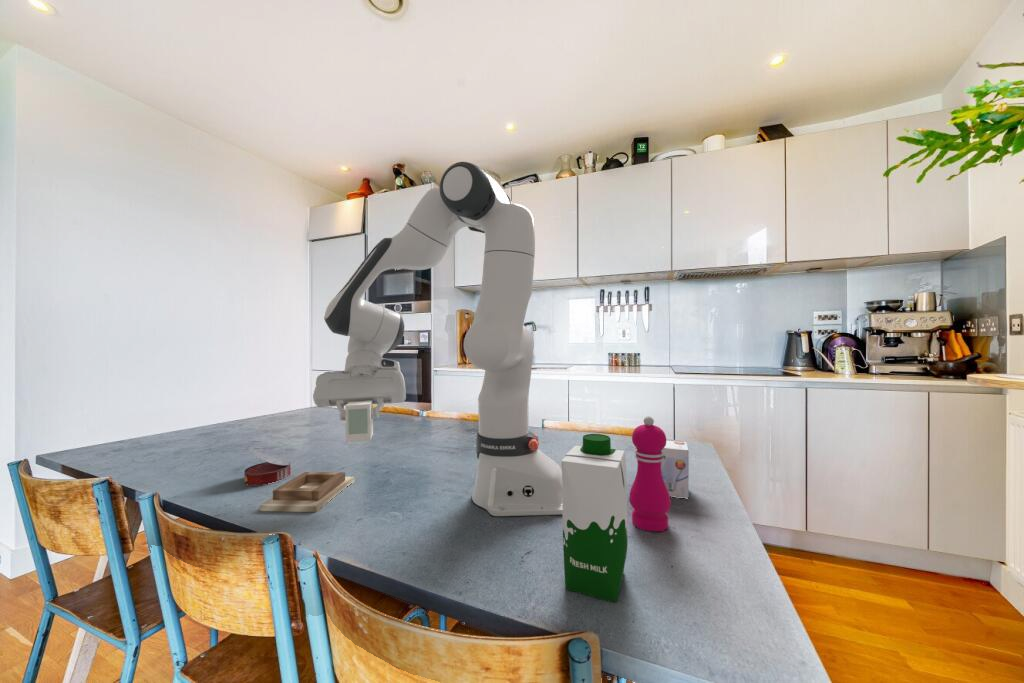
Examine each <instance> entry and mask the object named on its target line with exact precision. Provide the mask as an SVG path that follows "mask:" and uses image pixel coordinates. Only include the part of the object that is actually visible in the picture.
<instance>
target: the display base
mask: <svg viewBox="0 0 1024 683" xmlns="http://www.w3.org/2000/svg"><path fill="white" fill-rule="evenodd" d="M351 483H352V484H353V483H355V476H346V472H345V471H344V472H339V471H338V472H337V471H332V472H331V471H329V472H328V471H327V472H326V471H304V472H303V473H301V474H299V475H298V476H296V477H294V478H292V479H291V480H289V481H287V482H286V483H283V484H281V485H280V486H278V487H277V488H275V489H273V490H272V497H271V498H269V499H267V500H266V501H264V502H263V503H261V504H260V505H259V512H290V513H291V512H293V513H294V512H297V513H299V512H300V513H302V512H304V513H305V512H306V513H317V512H319V510H321V509H322V508H323V507H324V506H326V505H327V504H328V503H330V500H331V499H332V498H333V499H334V497H335V496H336V495H337V494H338V493H340V492H341V491H342V490H343V491H345V490H346V489H347V488H348V487H349V485H350V484H351ZM352 484H351V485H352ZM351 485H350V486H351ZM347 486H348V487H347ZM346 487H347V488H346ZM345 488H346V489H345ZM344 489H345V490H344ZM343 491H342V492H343ZM342 492H341V493H342ZM341 493H340V494H341ZM338 495H339V494H338ZM338 495H337V496H338ZM337 496H336V497H337ZM336 497H335V498H336ZM333 499H332V500H333ZM332 500H331V501H332ZM327 502H328V503H327ZM326 503H327V504H326ZM325 504H326V505H325ZM323 505H324V506H323ZM322 506H323V507H322ZM321 507H322V508H321ZM320 508H321V509H320ZM316 511H317V512H316Z"/></svg>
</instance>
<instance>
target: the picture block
mask: <svg viewBox="0 0 1024 683" xmlns="http://www.w3.org/2000/svg"><path fill="white" fill-rule="evenodd" d="M373 405H374V404H373V400H362V401H349V402H348V403H347V404H346V405H345V406H344V410H345V413H346V420H345V443H354V442H365V441H366V442H367V441H368V442H369V441H372V437H373V436H374V422H373V421H374V419H371V409H373V408H374V407H373Z"/></svg>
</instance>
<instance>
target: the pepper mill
mask: <svg viewBox="0 0 1024 683" xmlns="http://www.w3.org/2000/svg"><path fill="white" fill-rule="evenodd" d="M654 423H655V420H654V418H653V417H652V416H645V417H644V418H643V424H641V425H638V426H636V427H635V428H634V429H633V432H632V435H631V441H632V444H633V446H634V447H635V448H636V449H634V453H635V455H634V458H635V459H636V460H637V470H636V475H635V477H634V481H633V482H632V485H631V488H630V490H629V495H628V496H629V498H628V500H629V503H630V504H629V505H631V507H632V508H633V510H632V512H631V521H632V524H633V525H634V526H635V527H636V526H637V527H636V528H638V529H640V528H641V529H640V530H642V529H643V531H645V530H647V531H646V532H649V531H661V532H664V531H666V530H667V529H668V528H669V516H668V514H666V513H668V512H669V510H670V509H671V504H672V503H671V497H670V496H669V492H668V490H667V488H666V485H665V483H664V480H663V477H662V473H661V462H662V461H663V460H664V458H663V455H664V453H663V452H662V449H663V448H664V447H665V446H666V441H667V436H666V433H665V432H664V430H663V429H662V428H661V427H659V426H657V425H655V424H654ZM665 529H666V530H665ZM663 530H664V531H663Z"/></svg>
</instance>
